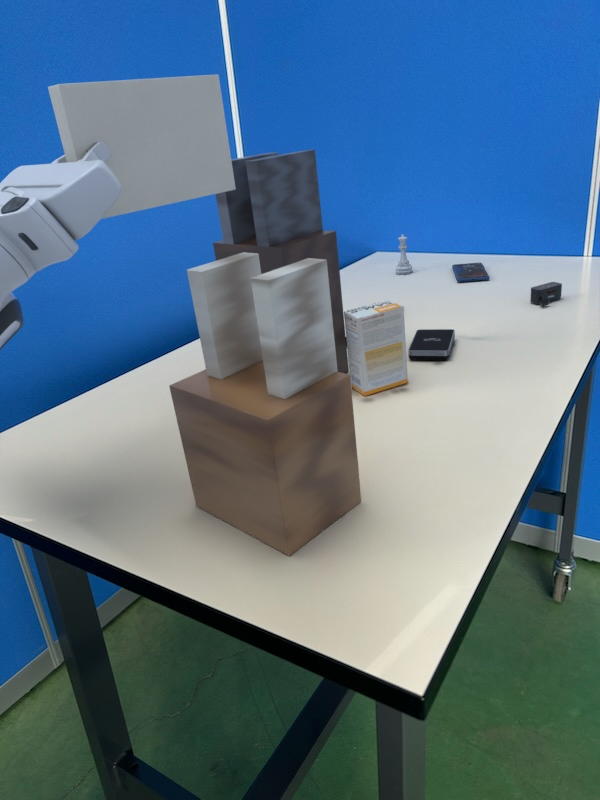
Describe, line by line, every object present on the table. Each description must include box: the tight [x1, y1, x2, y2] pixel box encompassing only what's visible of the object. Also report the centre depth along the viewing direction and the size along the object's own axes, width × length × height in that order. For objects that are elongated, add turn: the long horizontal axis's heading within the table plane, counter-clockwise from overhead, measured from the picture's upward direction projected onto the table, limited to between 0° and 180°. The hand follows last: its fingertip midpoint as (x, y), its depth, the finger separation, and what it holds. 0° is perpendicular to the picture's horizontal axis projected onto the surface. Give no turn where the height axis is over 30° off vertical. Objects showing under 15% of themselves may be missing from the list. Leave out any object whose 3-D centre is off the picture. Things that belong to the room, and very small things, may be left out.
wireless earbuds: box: [529, 281, 563, 307], centre depth 128 cm, size 5×7×3 cm, turn 115°
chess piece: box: [395, 233, 414, 276], centre depth 162 cm, size 4×4×10 cm
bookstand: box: [212, 149, 350, 374], centre depth 101 cm, size 12×16×36 cm
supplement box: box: [343, 299, 409, 397], centre depth 98 cm, size 8×5×13 cm, turn 114°
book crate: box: [168, 252, 362, 557], centre depth 68 cm, size 12×16×28 cm
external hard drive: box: [407, 328, 456, 361], centre depth 111 cm, size 7×11×2 cm, turn 162°
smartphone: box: [451, 262, 491, 283], centre depth 155 cm, size 8×1×15 cm
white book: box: [47, 74, 236, 220], centre depth 76 cm, size 22×2×14 cm, turn 137°
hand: (95, 148), depth 70 cm, fingers closed on white book, 2 cm apart
